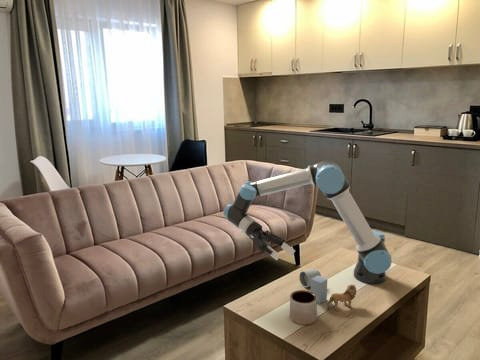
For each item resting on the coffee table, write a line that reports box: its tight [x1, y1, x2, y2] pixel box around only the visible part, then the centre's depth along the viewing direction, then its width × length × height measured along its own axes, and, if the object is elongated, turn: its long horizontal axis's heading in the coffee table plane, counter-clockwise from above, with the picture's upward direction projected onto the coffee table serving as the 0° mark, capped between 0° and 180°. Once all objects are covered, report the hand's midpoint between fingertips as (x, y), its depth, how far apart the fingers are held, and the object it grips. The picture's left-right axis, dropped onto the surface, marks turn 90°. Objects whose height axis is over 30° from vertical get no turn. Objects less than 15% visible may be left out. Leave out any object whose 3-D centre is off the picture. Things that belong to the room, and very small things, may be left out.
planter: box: [289, 289, 318, 326], centre depth 159 cm, size 11×11×10 cm
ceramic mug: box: [299, 268, 322, 288], centre depth 187 cm, size 11×8×8 cm
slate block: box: [310, 275, 328, 305], centre depth 172 cm, size 5×5×10 cm
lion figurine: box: [326, 283, 357, 311], centre depth 166 cm, size 15×5×9 cm, turn 115°
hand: (286, 255), depth 168 cm, fingers open, 13 cm apart
